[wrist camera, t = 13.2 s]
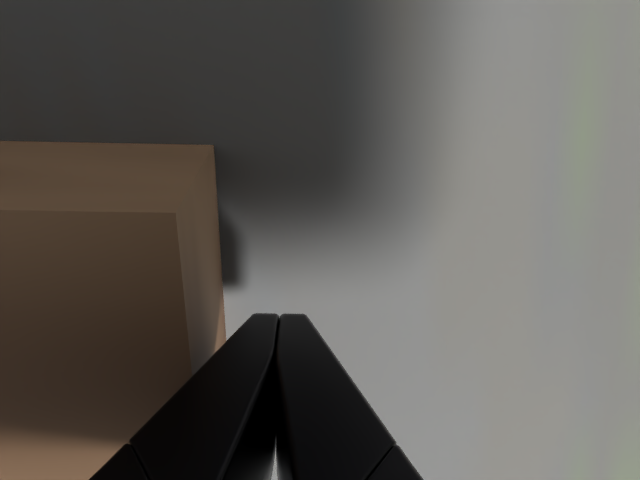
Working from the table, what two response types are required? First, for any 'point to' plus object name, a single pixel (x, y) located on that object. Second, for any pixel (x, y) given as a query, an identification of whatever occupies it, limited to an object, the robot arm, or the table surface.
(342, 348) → the table surface
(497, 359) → the table surface
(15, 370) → the walnut block
